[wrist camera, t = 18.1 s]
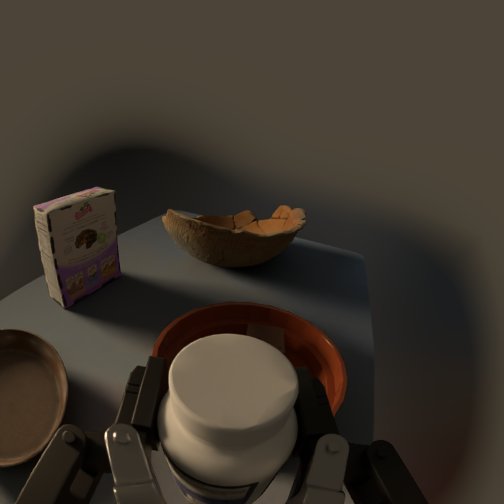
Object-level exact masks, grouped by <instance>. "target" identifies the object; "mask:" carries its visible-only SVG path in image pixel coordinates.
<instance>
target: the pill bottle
mask: <svg viewBox="0 0 504 504" xmlns="http://www.w3.org/2000/svg"><path fill="white" fill-rule="evenodd" d="M297 395H298V378H297V374H296V371H295V369H294V367H293V365H292V364H291V362H290V361H289V360H288V359H287V357H286V356H285V355H284V354H282V353H281V352H280V351H279V350H278V349H276V348H275V347H273V346H271V345H270V344H268V343H266V342H264V341H262V340H259V339H257V338H253V337H249V336H245V335H238V334H218V335H211V336H207V337H204V338H200V339H198V340H196V341H194V342H192V343H190V344H189V345H187V346H186V347H184V348H183V349H182V350H181V351H180V352H179V353H178V354H177V356H176V357H175V359H174V360H173V362H172V364H171V367H170V370H169V390H168V391H167V392H166V394H165V395H164V397H163V399H162V400H161V402H160V405H159V408H158V413H157V430H158V435H159V438H160V442H161V445H162V448H163V451H164V454H165V457H166V460H167V463H168V465H169V468H170V471H171V474H172V476H173V479H174V482H175V484H176V485H177V487H178V489H179V490H180V492H181V493H182V494H183V495H184V496H185V497H186V498H187V499H188V500H190V501H191V502H192V503H194V504H252V503H253V502H254V501H256V500H257V499H258V498H259V497H260V496H261V495H262V494H263V493H264V492H265V490H266V489H267V488H268V486H269V485H270V483H271V482H272V481H273V479H274V478H275V476H276V475H277V474H278V472H279V471H280V470H281V468H282V467H283V465H284V464H285V463H286V461H287V460H288V458H289V456H290V454H291V453H292V451H293V449H294V446H295V443H296V440H297V436H298V420H297V415H296V412H295V409H294V407H293V406H294V404H295V401H296V398H297Z"/></svg>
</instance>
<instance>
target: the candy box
mask: <svg viewBox="0 0 504 504" xmlns="http://www.w3.org/2000/svg"><path fill="white" fill-rule="evenodd" d="M34 216H35V224H36V231H37V237H38V243H39V249H40V254H41V259H42V264H43V268H44V273H45V277H46V281H47V286H48V289H49V293H50V296H51V297H52V298H53V299H54V300H55V301H56V302H58V303H59V304H60V305H61V306H62V307H63V308H64V309H66V308H68V307H70V306H72V305H73V304H75V303H76V302H78V301H79V300H81V299H83V298H84V297H86V296H87V295H89V294H91V293H93V292H94V291H96V290H97V289H99V288H101V287H102V286H104V285H106V284H107V283H109V282H111V281H112V280H114V279H116V278H117V277H119V276H121V272H120V263H119V253H118V241H117V227H116V206H115V191H113V190H109V189H103V188H99V187H95V188H92V189H88V190H85V191H81V192H78V193H74V194H71V195H68V196H65V197H61V198H58V199H55V200H52V201H49V202H46V203H42V204H40V205H36V206H34Z"/></svg>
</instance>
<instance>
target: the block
mask: <svg viewBox="0 0 504 504" xmlns="http://www.w3.org/2000/svg"><path fill="white" fill-rule="evenodd" d="M246 336H249V337H253V338H257V339H259V340H262V341H264V342H266V343H268V344H270V345H271V346H273V347H275V348H276V349H278V350H279V351H280V352H281V353H282V354H284V355H285V343H284V329H283V328H278V327H269V326H260V325H252V324H248V327H247V333H246Z"/></svg>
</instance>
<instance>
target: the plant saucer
mask: <svg viewBox="0 0 504 504" xmlns="http://www.w3.org/2000/svg"><path fill="white" fill-rule="evenodd" d="M67 400H68V378H67V373H66V369H65V366H64V364H63V361H62V360H61V357H60V356H59V354H58V353H57V351H56V350H55V349H54V348H53V346H52V345H51V344H50V343H48V342H47V341H46V340H45V339H43V338H41V337H40V336H38V335H36V334H34V333H32V332H29V331H25V330H20V329H0V467H12V466H16V465H20V464H23V463H25V462H27V461H29V460H31V459H33V458H34V457H36V456H37V455H39V454H40V453H41V452H42V451H43V450H44V449H45V448H46V447H47V446H48V444H49V443H50V441H51V439H52V438H53V436H54V435H55V433H56V431H57V430H58V429H59V428H60V426H61V423H62V421H63V418H64V415H65V411H66V406H67Z"/></svg>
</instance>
